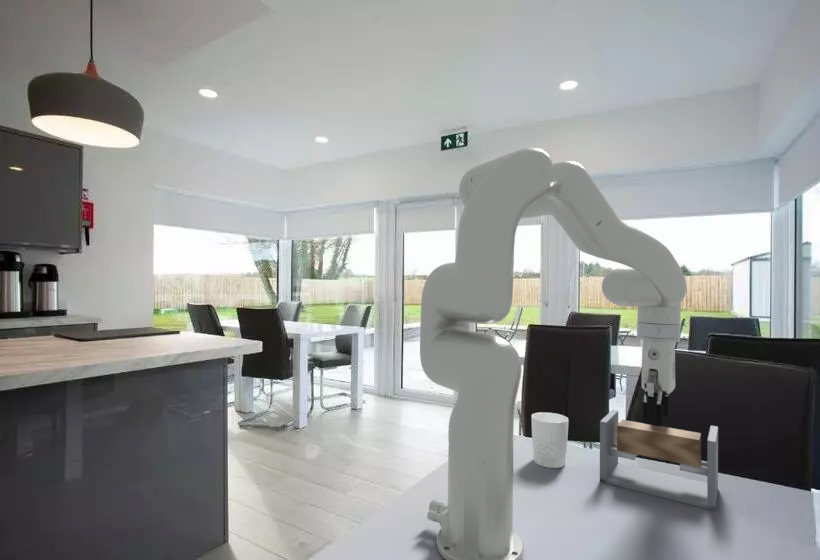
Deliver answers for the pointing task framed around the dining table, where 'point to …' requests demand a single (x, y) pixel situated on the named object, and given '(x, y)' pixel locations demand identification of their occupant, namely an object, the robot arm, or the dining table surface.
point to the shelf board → (659, 442)
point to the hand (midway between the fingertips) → (656, 419)
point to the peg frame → (657, 481)
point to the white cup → (549, 439)
